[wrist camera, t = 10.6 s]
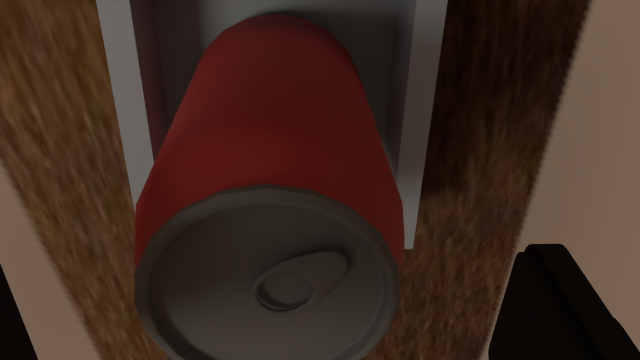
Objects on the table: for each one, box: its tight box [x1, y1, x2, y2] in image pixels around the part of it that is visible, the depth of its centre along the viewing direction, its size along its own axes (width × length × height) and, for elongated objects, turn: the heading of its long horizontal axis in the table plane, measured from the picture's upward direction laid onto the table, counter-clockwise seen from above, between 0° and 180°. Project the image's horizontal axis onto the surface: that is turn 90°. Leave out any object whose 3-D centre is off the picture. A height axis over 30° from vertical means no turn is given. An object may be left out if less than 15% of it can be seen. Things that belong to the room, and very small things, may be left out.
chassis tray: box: [96, 0, 448, 249], centre depth 21 cm, size 11×11×4 cm
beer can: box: [134, 13, 405, 360], centre depth 16 cm, size 7×7×12 cm
